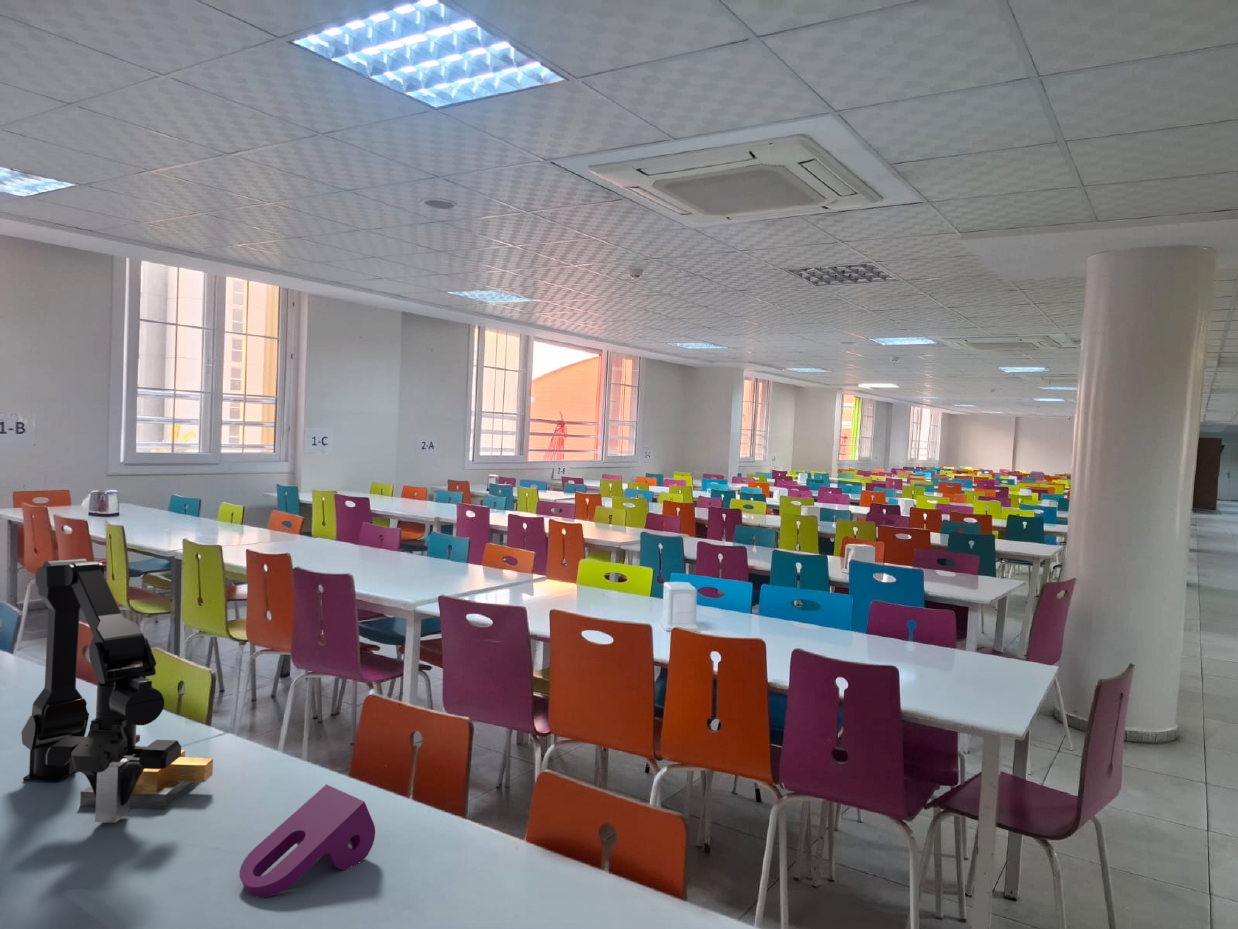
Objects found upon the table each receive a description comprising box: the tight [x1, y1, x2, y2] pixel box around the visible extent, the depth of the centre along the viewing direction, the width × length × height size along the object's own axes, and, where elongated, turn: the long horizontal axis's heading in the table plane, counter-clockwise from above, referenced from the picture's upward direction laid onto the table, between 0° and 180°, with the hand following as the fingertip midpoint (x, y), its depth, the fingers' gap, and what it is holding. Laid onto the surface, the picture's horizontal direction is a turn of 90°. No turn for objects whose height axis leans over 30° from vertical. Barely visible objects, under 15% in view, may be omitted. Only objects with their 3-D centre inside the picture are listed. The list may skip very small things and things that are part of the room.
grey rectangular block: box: [94, 758, 130, 824], centre depth 134 cm, size 3×4×9 cm
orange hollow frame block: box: [79, 749, 214, 810], centre depth 146 cm, size 18×14×6 cm
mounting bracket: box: [239, 784, 376, 898], centre depth 123 cm, size 9×8×18 cm
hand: (112, 804), depth 134 cm, fingers closed on grey rectangular block, 3 cm apart
